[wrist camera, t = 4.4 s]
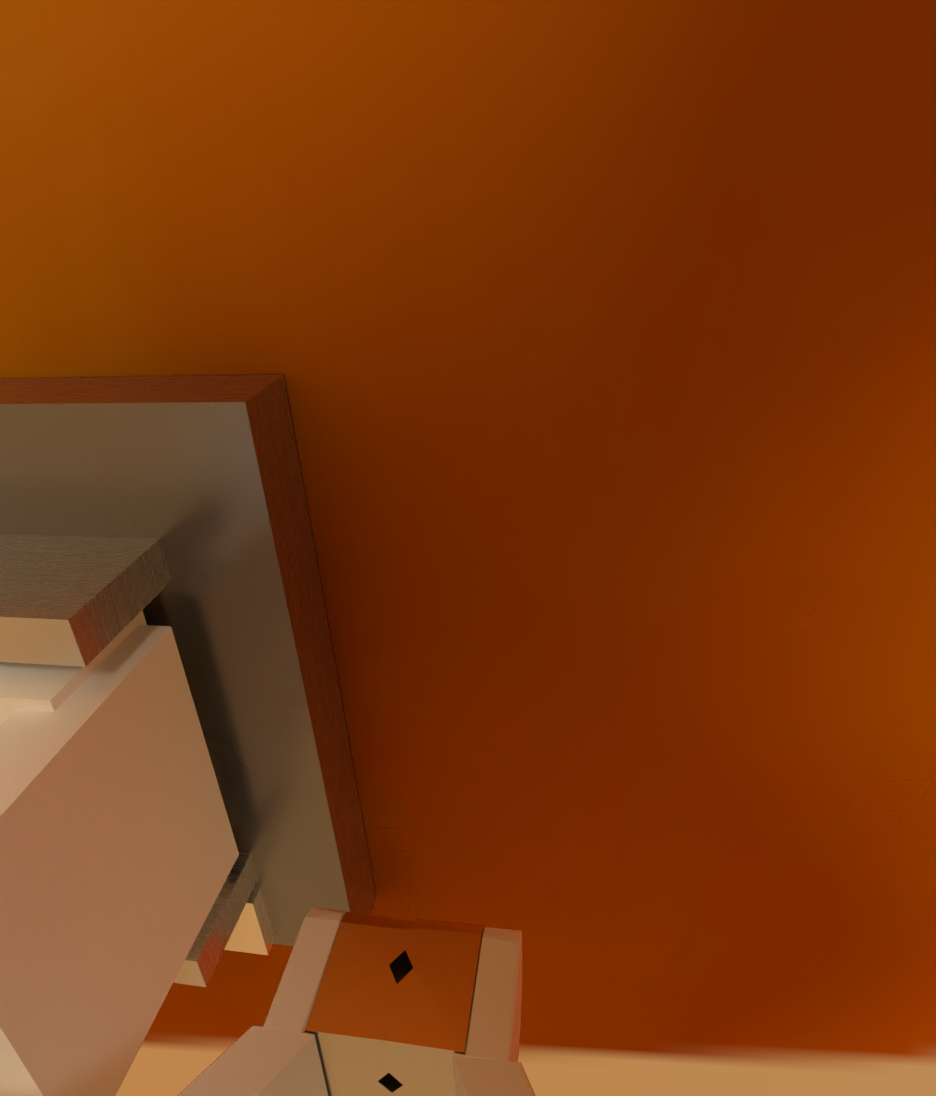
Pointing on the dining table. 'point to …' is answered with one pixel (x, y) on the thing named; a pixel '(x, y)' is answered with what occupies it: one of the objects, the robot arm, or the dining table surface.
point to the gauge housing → (195, 611)
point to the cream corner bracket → (100, 858)
